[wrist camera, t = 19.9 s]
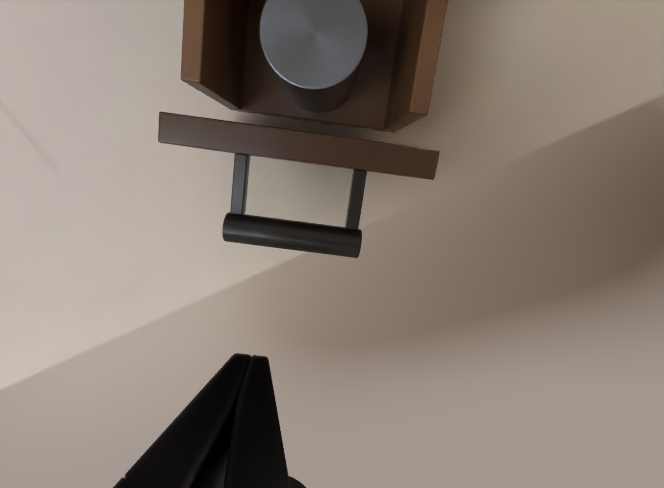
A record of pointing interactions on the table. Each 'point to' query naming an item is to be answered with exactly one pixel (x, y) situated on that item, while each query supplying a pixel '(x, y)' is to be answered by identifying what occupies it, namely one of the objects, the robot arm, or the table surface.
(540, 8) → the table surface
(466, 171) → the table surface
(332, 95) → the cylinder
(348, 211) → the drawer
